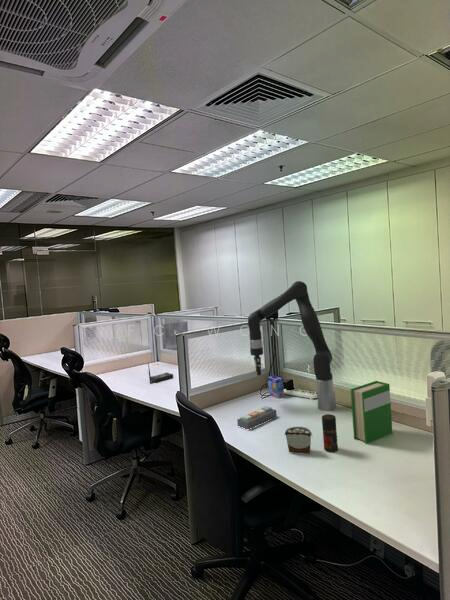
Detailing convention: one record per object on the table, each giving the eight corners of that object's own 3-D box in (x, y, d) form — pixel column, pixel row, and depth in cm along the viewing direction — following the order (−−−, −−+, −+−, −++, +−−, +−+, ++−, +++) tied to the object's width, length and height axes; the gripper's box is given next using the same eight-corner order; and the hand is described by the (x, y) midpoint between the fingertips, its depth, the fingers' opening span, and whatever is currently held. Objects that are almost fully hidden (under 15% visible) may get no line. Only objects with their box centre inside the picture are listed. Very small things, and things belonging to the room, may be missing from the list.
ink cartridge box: (268, 395, 254) (266, 373, 253) (275, 393, 257) (273, 371, 256) (277, 398, 245) (275, 376, 244) (284, 396, 248) (282, 374, 247)
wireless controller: (166, 376, 326) (163, 356, 325) (174, 379, 315) (172, 358, 314) (144, 382, 314) (142, 361, 313) (152, 385, 303) (150, 364, 302)
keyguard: (276, 416, 216) (276, 409, 216) (248, 430, 201) (247, 423, 201) (266, 413, 222) (265, 406, 222) (237, 426, 207) (237, 419, 207)
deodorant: (322, 446, 176) (320, 414, 175) (335, 445, 176) (333, 413, 175) (325, 452, 170) (323, 419, 169) (339, 451, 170) (337, 418, 169)
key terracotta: (259, 418, 210) (258, 413, 209) (254, 421, 207) (253, 415, 207) (253, 416, 213) (253, 411, 212) (248, 419, 210) (248, 413, 210)
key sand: (265, 415, 213) (265, 410, 213) (260, 417, 210) (260, 412, 210) (260, 414, 216) (259, 408, 216) (255, 416, 213) (254, 411, 213)
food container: (315, 448, 176) (313, 426, 175) (313, 454, 170) (312, 432, 169) (288, 446, 180) (286, 425, 179) (285, 452, 174) (284, 431, 173)
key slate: (271, 412, 216) (271, 407, 216) (267, 414, 214) (266, 409, 213) (266, 411, 219) (266, 406, 219) (261, 413, 217) (261, 408, 216)
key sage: (252, 421, 206) (251, 416, 206) (247, 424, 203) (246, 418, 203) (247, 420, 209) (246, 414, 209) (241, 422, 207) (241, 416, 206)
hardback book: (366, 444, 175) (363, 392, 173) (354, 438, 181) (350, 389, 179) (392, 433, 183) (389, 383, 181) (379, 428, 190) (376, 380, 188)
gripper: (263, 348, 222) (266, 376, 223) (261, 343, 236) (263, 369, 237) (250, 349, 222) (253, 377, 223) (249, 344, 236) (251, 370, 237)
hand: (258, 373), depth 230 cm, fingers open, 8 cm apart
